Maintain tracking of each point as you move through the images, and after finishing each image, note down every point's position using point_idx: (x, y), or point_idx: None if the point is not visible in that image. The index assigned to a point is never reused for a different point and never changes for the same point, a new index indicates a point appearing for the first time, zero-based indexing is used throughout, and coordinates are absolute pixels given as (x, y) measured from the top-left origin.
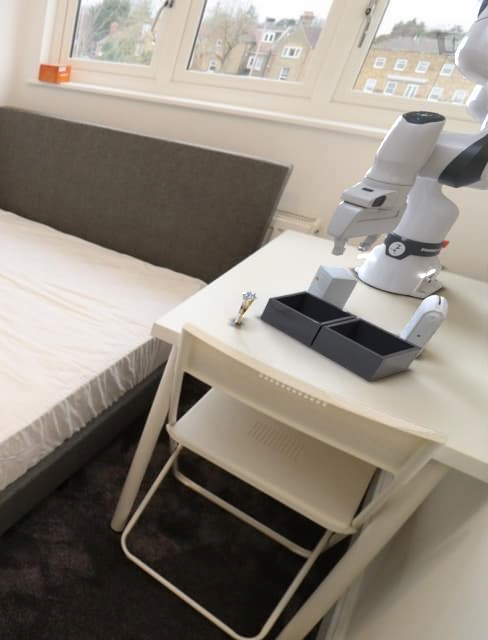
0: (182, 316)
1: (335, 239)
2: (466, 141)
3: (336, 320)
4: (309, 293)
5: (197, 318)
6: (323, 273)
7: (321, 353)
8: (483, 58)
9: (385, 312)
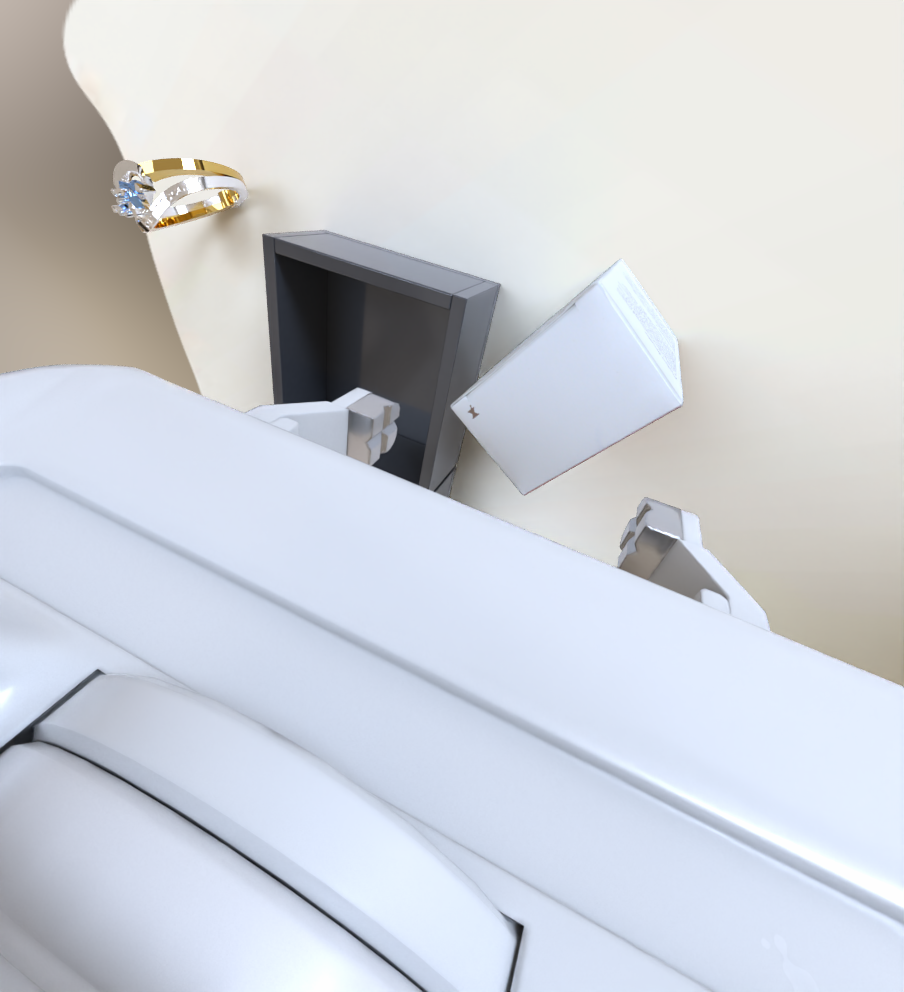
0: (87, 37)
1: (259, 413)
2: None
3: None
4: (455, 323)
5: (129, 86)
6: (534, 334)
7: None
8: None
9: (818, 533)
